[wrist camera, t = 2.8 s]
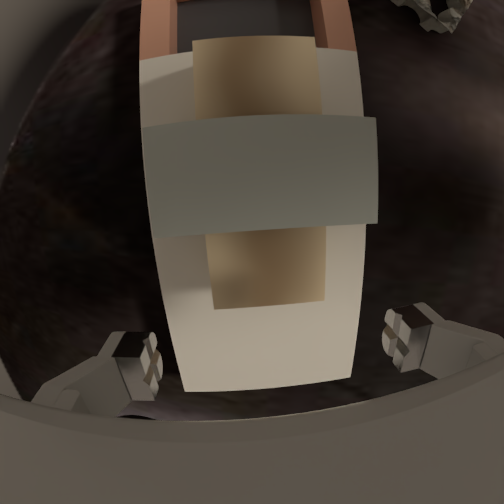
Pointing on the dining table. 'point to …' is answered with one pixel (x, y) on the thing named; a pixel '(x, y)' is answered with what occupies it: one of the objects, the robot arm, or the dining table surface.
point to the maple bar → (247, 104)
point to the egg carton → (447, 19)
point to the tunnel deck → (265, 326)
